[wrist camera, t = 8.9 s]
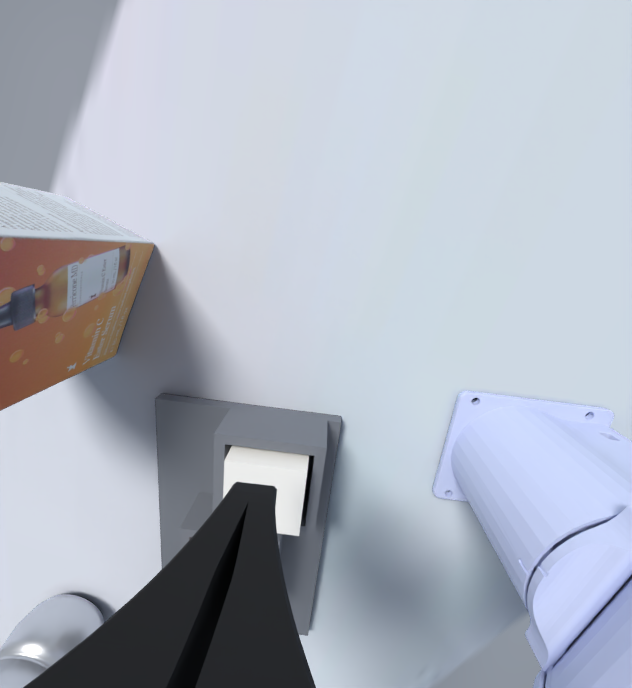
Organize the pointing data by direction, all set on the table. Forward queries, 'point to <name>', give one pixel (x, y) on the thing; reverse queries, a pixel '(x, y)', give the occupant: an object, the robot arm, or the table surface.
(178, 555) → the robot arm
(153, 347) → the table surface
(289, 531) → the ivory key
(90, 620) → the plastic bottle
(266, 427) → the panel
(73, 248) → the small box
